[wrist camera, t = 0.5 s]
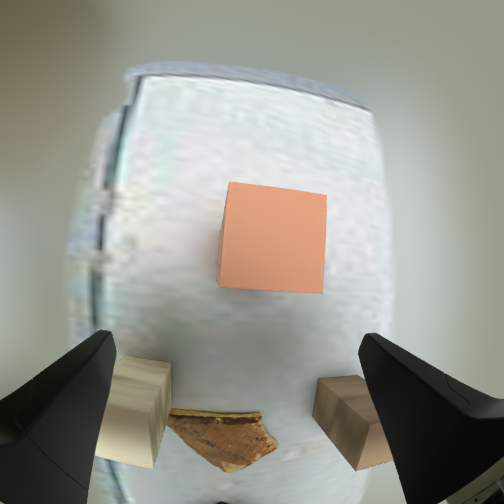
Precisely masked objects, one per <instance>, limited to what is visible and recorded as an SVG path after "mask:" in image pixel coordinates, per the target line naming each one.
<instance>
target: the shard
mask: <svg viewBox="0 0 504 504" xmlns="http://www.w3.org/2000/svg"><path fill="white" fill-rule="evenodd" d="M166 425H167V426H169V427H170V428H171V429H173V431H174V432H176V433H177V434H178V435H179V436H180V437H181V438H182V439H183V440H184V442H185V443H186V444H187V445H189V446H190V447H191V448H192V449H194V450H195V451H196V452H197V453H198V454H199V455H200V456H202V457H204V458H205V459H206V460H207V461H208V462H210V463H211V464H213V465H214V466H217V467H219V468H220V469H221V470H223V471H224V472H226V473H231V472H235V471H237V470H241V469H243V468H245V467H247V466H249V465H251V464H252V463H253V462H255V461H257V460H258V459H260V458H262V457H263V456H265V455H267V454H269V453H270V452H272V451H274V450H275V449H277V447H278V446H279V444H278V443H277V442H276V441H275V440H273V439H272V438H271V436H270V435H269V434H268V433H267V432H266V430H265V428H264V426H263V424H262V416H261V414H260V413H251V414H240V415H237V414H229V415H224V414H215V413H207V412H197V411H189V410H183V409H170V412H169V416H168V419H167V422H166Z"/></svg>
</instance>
